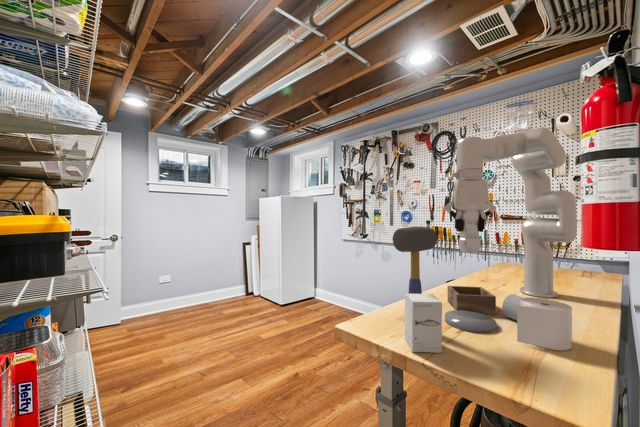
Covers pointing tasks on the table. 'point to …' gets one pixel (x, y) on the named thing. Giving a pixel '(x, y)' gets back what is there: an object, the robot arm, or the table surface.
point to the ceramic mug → (511, 306)
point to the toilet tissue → (544, 323)
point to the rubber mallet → (414, 250)
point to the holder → (472, 299)
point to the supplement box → (423, 323)
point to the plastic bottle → (470, 230)
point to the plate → (470, 321)
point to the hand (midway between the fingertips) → (469, 230)
